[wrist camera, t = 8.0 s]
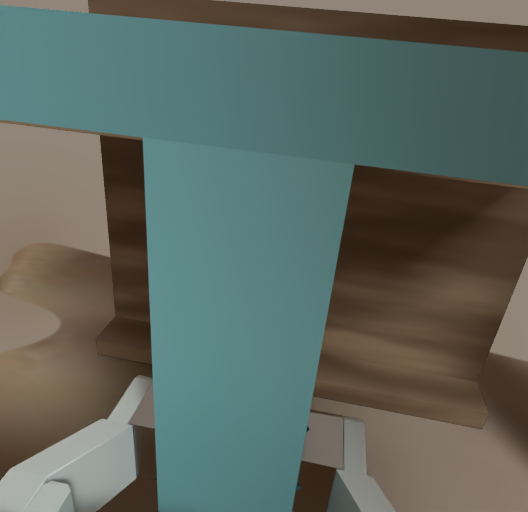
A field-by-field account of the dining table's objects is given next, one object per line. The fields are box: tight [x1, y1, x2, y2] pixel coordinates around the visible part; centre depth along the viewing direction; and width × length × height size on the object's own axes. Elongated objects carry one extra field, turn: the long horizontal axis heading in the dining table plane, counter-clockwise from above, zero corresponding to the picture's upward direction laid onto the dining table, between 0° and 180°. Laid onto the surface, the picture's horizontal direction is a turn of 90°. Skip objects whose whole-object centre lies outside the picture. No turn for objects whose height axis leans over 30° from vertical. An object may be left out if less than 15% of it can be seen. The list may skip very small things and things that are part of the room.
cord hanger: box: [0, 5, 528, 512], centre depth 11 cm, size 6×16×18 cm, turn 79°
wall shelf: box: [0, 0, 528, 429], centre depth 24 cm, size 12×28×24 cm, turn 79°
